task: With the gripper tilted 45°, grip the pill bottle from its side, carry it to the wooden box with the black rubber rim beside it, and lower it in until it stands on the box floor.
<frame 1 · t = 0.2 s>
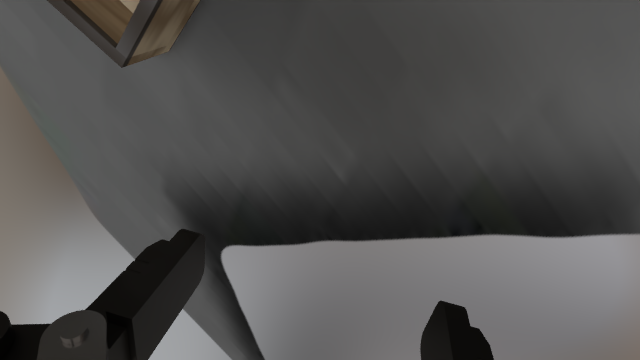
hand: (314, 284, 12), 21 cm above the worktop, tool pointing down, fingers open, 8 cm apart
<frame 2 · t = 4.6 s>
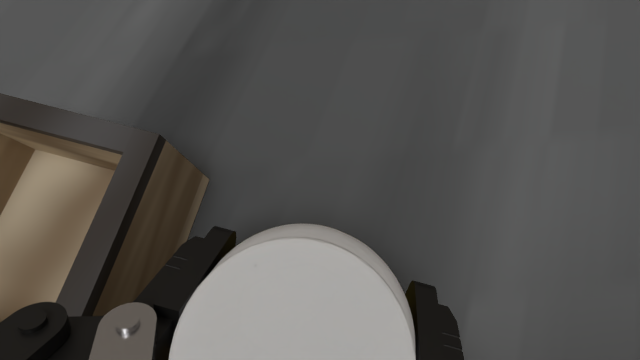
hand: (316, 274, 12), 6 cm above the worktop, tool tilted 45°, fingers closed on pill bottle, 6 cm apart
pill bottle: (309, 309, 17), on the worktop, touching gripper
wooden box: (84, 245, 18), on the worktop
when the fingers open (8 cm above the worktop, at t = 9.6 s): pill bottle drops 1 cm, resting on wooden box.
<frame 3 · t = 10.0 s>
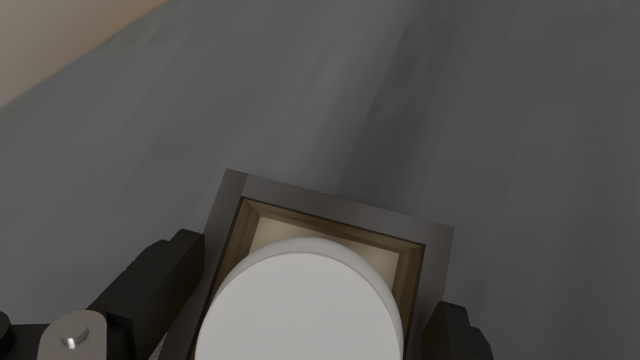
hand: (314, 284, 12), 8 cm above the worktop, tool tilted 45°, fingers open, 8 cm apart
pill bottle: (309, 312, 18), point 1 cm above the worktop, touching wooden box
wooden box: (310, 306, 19), on the worktop
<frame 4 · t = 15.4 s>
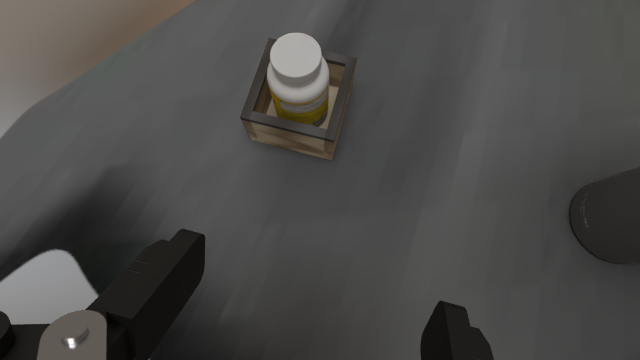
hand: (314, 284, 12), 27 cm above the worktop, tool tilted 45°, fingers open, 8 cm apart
pill bottle: (302, 112, 42), point 1 cm above the worktop, touching wooden box
wooden box: (302, 113, 43), on the worktop
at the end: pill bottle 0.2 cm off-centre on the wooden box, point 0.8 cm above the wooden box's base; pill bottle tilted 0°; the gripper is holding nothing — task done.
